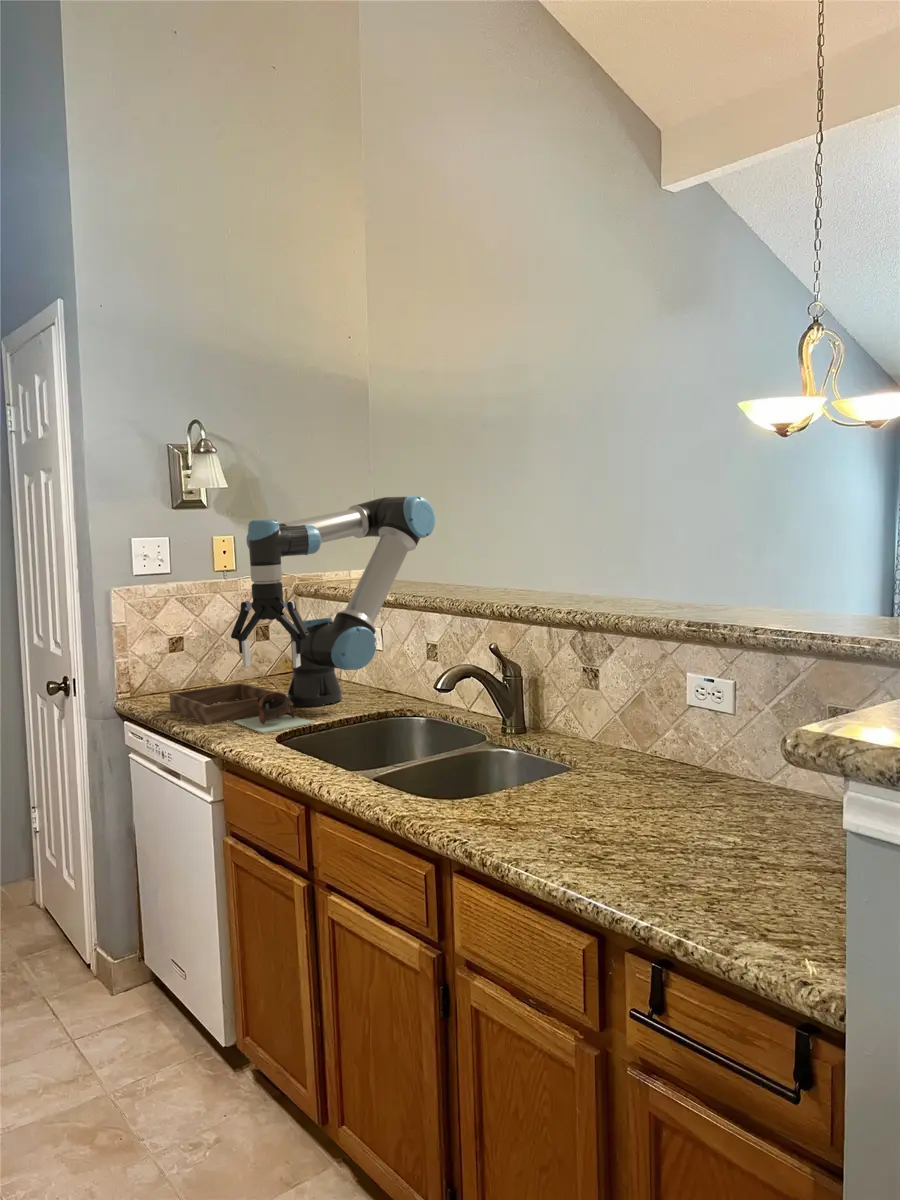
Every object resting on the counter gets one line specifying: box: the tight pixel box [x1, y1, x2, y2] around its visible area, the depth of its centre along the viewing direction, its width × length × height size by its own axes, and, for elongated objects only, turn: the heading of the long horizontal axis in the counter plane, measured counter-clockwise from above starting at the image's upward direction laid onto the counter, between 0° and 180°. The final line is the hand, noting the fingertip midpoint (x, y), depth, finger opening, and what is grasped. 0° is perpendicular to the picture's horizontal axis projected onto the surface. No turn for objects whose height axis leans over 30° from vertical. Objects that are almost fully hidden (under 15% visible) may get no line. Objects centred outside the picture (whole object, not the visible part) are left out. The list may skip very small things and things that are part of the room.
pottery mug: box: [258, 691, 295, 724], centre depth 227 cm, size 12×10×8 cm
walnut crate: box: [169, 682, 275, 725], centre depth 242 cm, size 24×22×4 cm
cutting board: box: [233, 715, 315, 734], centre depth 226 cm, size 16×14×1 cm
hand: (271, 666), depth 225 cm, fingers open, 13 cm apart
